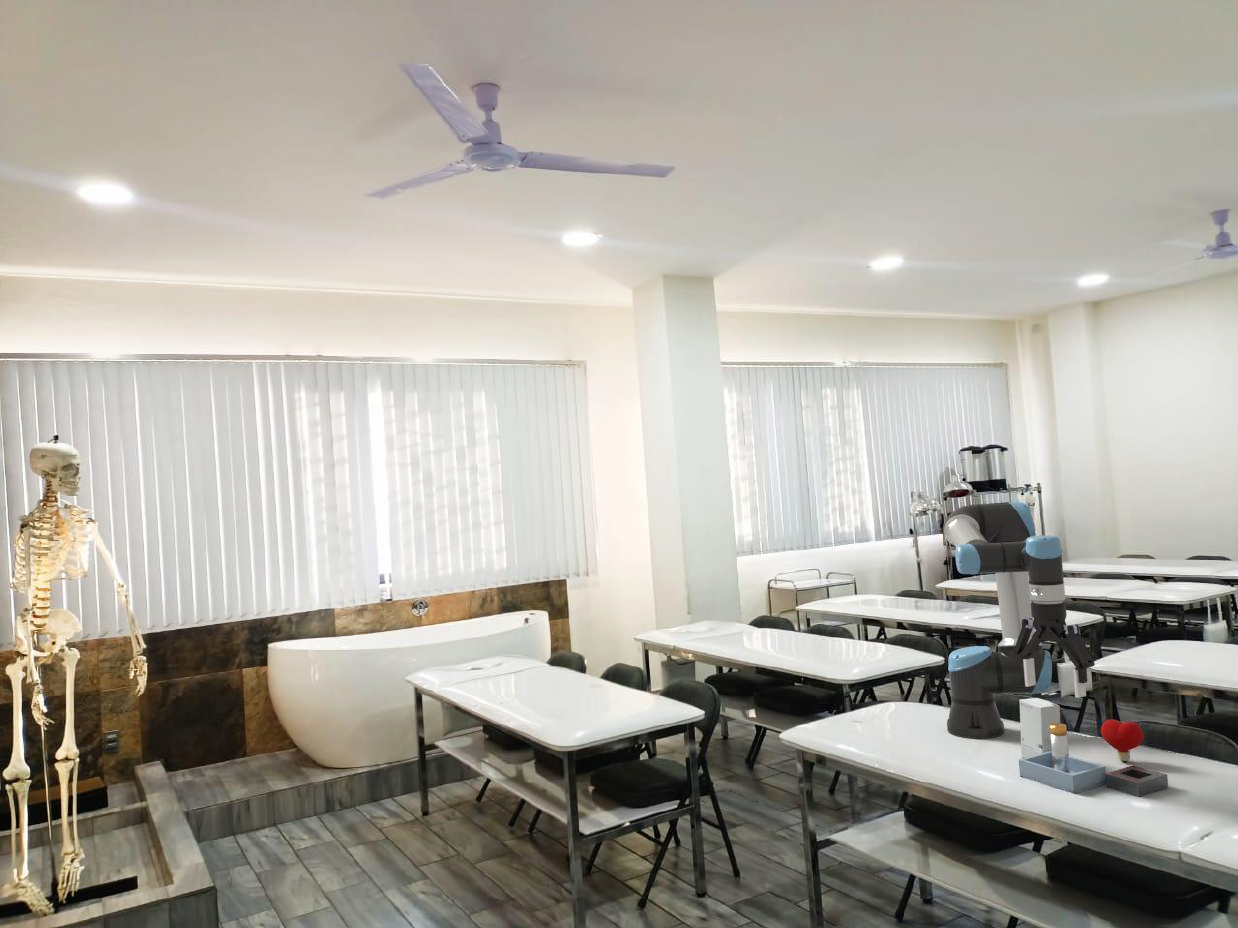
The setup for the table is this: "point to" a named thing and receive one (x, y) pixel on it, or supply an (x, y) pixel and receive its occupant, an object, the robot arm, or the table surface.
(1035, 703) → the skincare box
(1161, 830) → the table surface
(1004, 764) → the table surface
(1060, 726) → the copper top battery
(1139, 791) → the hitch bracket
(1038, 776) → the tray
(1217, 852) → the table surface
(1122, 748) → the red heart shape
